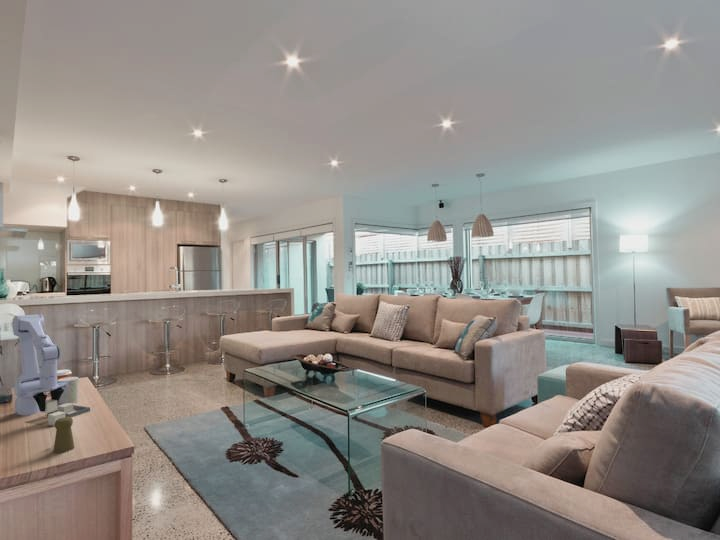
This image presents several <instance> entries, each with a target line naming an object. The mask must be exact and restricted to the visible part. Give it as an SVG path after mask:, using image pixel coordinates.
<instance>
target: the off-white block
mask: <svg viewBox="0 0 720 540" xmlns="http://www.w3.org/2000/svg"><path fill="white" fill-rule="evenodd" d="M47 417H48V425H53V426H54V427H55V422H56V420H58V419H60V418H64V417H65V412H59V411H58V412H55V413H52V414H49V415H47Z"/></svg>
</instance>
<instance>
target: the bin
mask: <svg viewBox="0 0 720 540" xmlns="http://www.w3.org/2000/svg"><path fill="white" fill-rule="evenodd" d="M73 410H77V411H73V412H70V413H65V417H70V418H73V417H76V416H79V415H82V414H86V413H88V412H91V408H90V406H84V405H83V406H82V405H75V404H73ZM55 412H57V410H56V411H52V412H49V413H46V415H47V416H48V415H49V414H52V413H55Z"/></svg>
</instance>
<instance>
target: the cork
mask: <svg viewBox="0 0 720 540" xmlns="http://www.w3.org/2000/svg"><path fill="white" fill-rule="evenodd" d="M73 420H74V419H73V417H71V418H70V417H64V418H60V419H58V420H56V422H55V426H54V428H55V429H56V432H55V437H54V443H53V444H54V445H53V450H52V451H53V454H62V453H63V454H64V453H66V451H67V452H69V450H70V451H72V450H74V448H75V443H74V436H73V431H72V425H73V423H74V421H73Z"/></svg>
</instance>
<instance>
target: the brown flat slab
mask: <svg viewBox="0 0 720 540" xmlns="http://www.w3.org/2000/svg"><path fill="white" fill-rule="evenodd" d="M24 423H25V424H31V425H36V426H41V427H47V428H55V426H53V425H48V416H40V417H36V418H33V419H31V420H27V421H24Z"/></svg>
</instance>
